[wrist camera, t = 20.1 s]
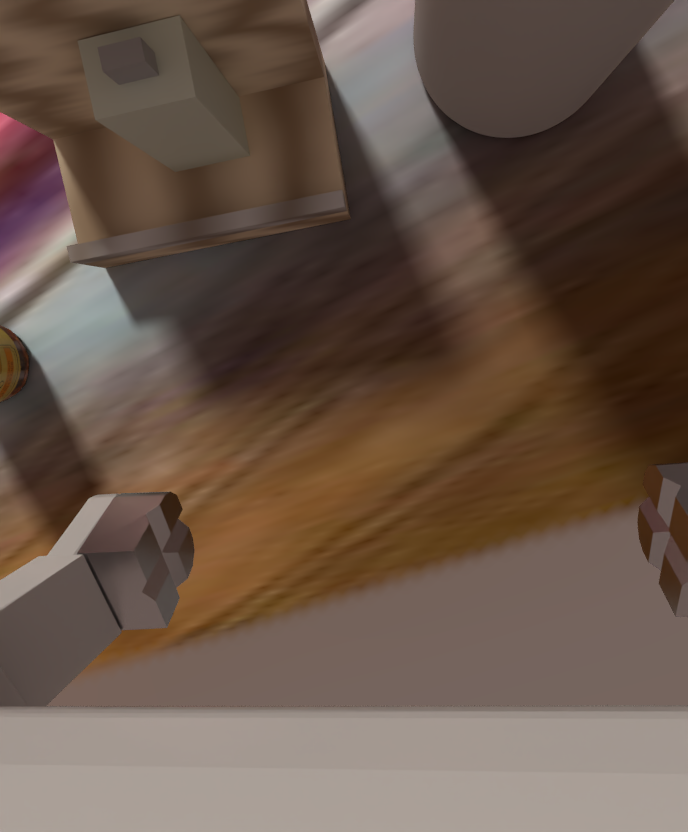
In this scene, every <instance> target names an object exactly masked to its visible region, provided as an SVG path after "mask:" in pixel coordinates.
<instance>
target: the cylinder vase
mask: <svg viewBox="0 0 688 832" xmlns="http://www.w3.org/2000/svg"><path fill="white" fill-rule="evenodd" d="M673 2H674V0H415V12H414V32H413V40H414V52H415V58H416V63H417V67H418V70H419V73H420V76H421V79H422V81H423V84H424V86H425V88H426V89H427V91H428V93H429V95H430V96H431V98H432V99H433V101H434V102H435V103H436V104H437V106H438V107H439V108H440V109H441V110H442V111H443V112H444V113H445V114H446V115H447V116H448V117H449V118H451V119H452V120H453V121H455V122H456V123H458V124H459V125H461V126H463V127H464V128H466V129H469V130H471V131H473V132H476V133H479V134H482V135H486V136H491V137H498V138H515V137H523V136H528V135H532V134H536V133H539V132H542V131H544V130H547V129H549V128H551V127H553V126H555V125H557V124H559V123H560V122H562V121H564V120H565V119H567V118H568V117H569V116H571V115H572V114H573V113H575V112H576V111H577V110H578V109H579V108H580V107H581V106H582V105H583V104H584V103H585V102H586V101H587V100H588V99H589V98H590V97H591V96H592V95H593V93H594V92H595V91H596V90H597V89H598V88H599V87H600V85H601V84H602V83H603V82H604V81H605V80H606V78H607V77H608V76H609V75H610V74H611V73H612V72H613V70H614V69H615V68H616V67H617V66H618V65H619V64H620V62H621V61H622V60H623V59H624V58H625V57H626V55H627V54H628V53H629V52H630V51H631V50H632V49H633V47H634V46H635V45H636V44H637V43H638V42H639V41H640V39H641V38H642V37H643V36H644V35H645V34H646V33H647V31H648V30H649V29H650V28H651V27H652V26H653V24H654V23H655V22H656V21H657V20H658V19H659V18H660V16H661V15H662V14H663V13H664V12H665V11H666V10H667V8H668V7H669V6H670V5H671V4H672V3H673Z"/></svg>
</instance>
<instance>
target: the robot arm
mask: <svg viewBox="0 0 688 832" xmlns="http://www.w3.org/2000/svg"><path fill="white" fill-rule="evenodd" d="M643 486H644V488H645V490H646V492H647V494H648V495H649V497H648V498H647V499H646V500H645V501H644V502H643V503H642V504H641V505H640V506H639V513H638V532H639V540H640V543H641V546H642V550H643V552H644V554H645V556H646V558H647V560H648V562H649V563H650V564H652V565H653V566H655V567H656V568H658V569H659V570H661V574H660V579H659V585H660V587H661V589H662V591H663V593H664V595H665V597H666V599H667V601H668V602H669V605H670V607H671V609H672V611H673V613H674V615H675V616H676V617H688V462H684V463H668V464H652V465H648V467H647V469H646V471H645V474H644V480H643ZM181 511H182V507H181V504H180V502H179V499H178V497H177V495H176V494H174V493H172V492H149V493H122V494H103V495H95V496H93V497H91V498H89V499H88V500H87V502H86V503H85V505H84V506H83V507H82V509H81V510H80V511H79V513H78V514H77V515H76V517H75V518H74V520H73V521H72V522H71V524H70V525H69V526H68V528H67V529H66V530H65V532H64V533H63V535H62V536H61V537H60V539H59V540H58V541H57V543H56V544H55V546H54V547H53V548H52V550H51V551H50V552H49V554H48V555H47V556H39V557H37V558H35V559H34V560H32V561H31V562H29V563H27V564H26V565H24V566H22V567H21V568H19V569H18V570H16V571H14V572H13V573H11V574H10V575H8V576H6V577H5V578H3V579H2V580H0V832H688V706H47V705H48V704H49V703H50V702H51V701H52V700H53V699H54V698H55V697H56V696H57V695H58V694H59V693H60V692H61V691H62V690H63V689H64V688H65V687H66V686H67V685H68V684H69V683H70V682H71V681H72V680H73V679H74V678H75V677H76V676H77V675H78V674H80V673H81V672H82V671H83V670H84V669H85V668H86V667H87V666H88V665H89V664H90V663H91V662H92V661H93V660H94V659H95V658H96V657H97V656H98V655H99V654H100V653H101V652H102V651H103V650H104V649H105V648H106V647H107V646H108V645H109V644H110V643H111V642H112V641H113V640H115V639H116V638H117V637H118V636H119V635H120V634H121V630H134V629H154V628H167V626H168V624H169V622H170V619H171V617H172V615H173V612H174V610H175V608H176V605H177V603H178V600H179V598H180V597H179V595H178V592H177V589H176V588H177V587H178V586H179V585H180V584H181V583H183V582H184V581H185V580H186V579H188V576H189V574H190V571H191V569H192V566H193V558H194V544H193V537H192V534H191V532H190V529H189V527H188V526H186V525H185V524H184V523H183V522H181V521H180V520H179V519H178V518H179V516H180V513H181Z"/></svg>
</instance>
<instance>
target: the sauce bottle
mask: <svg viewBox="0 0 688 832" xmlns="http://www.w3.org/2000/svg"><path fill="white" fill-rule="evenodd" d="M28 364H29V356H28V353H27V351H26V349H25V347H24V346H23V345H22V343H21V341H20V340H19V339H18V337H17V336H16V335H15V334H14V333H13V332H12V331H11V330H9V329H7V328H5V327H2V326H1V325H0V402H2V401H5V400H7V399H9V398H10V397H12V396H14V395H15V394H17V393H18V392H19V391H20V390H21V388H22V387H23V386H24V385H25V382H26V380H27V376H28V371H29V370H28V369H29V366H28Z"/></svg>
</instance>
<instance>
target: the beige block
mask: <svg viewBox="0 0 688 832" xmlns="http://www.w3.org/2000/svg"><path fill="white" fill-rule="evenodd" d="M78 46H79V50H80V54H81V59H82V63H83V68H84V72H85V77H86V81H87V86H88V90H89V94H90V99H91V103H92V108H93V112H94V117H95V120H96V121H97V122H99V123H101V124H102V125H104V126H105V127H107V128H108V129H110V130H111V131H113V132H114V133H116V134H117V135H119V136H121V137H122V138H124V139H125V140H127V141H128V142H130V143H131V144H133V145H134V146H136V147H138V148H139V149H141V150H142V151H144V152H145V153H147V154H148V155H150V156H151V157H153V158H154V159H156V160H158V161H159V162H161V163H162V164H164V165H165V166H167V167H168V168H170V169H171V170H173V171H174V172H178V171H182V170H187V169H192V168H196V167H201V166H206V165H210V164H215V163H219V162H224V161H229V160H233V159H238V158H242V157H247V156H250V152H249V147H248V142H247V136H246V131H245V126H244V120H243V115H242V110H241V104H240V99H239V96H238V95H237V94H236V92H235V91H234V90H233V88H232V87H231V85H230V84H229V83H228V81H227V80H226V79H225V77H224V76H223V74H222V73H221V72H220V70H219V69H218V68H217V66H216V65H215V63H214V62H213V61H212V59H211V58H210V57H209V55H208V54H207V52H206V51H205V50H204V48H203V47H202V45H201V44H200V43H199V41H198V40H197V39H196V37H195V36H194V34H193V33H192V32H191V30H190V29H189V28H188V26H187V25H186V23H185V22H184V21H183V19H182V18H181V17H180V15H179V16H175V17H171V18H167V19H163V20H159V21H155V22H151V23H147V24H143V25H139V26H135V27H131V28H127V29H123V30H119V31H115V32H111V33H107V34H103V35H99V36H95V37H91V38H87V39H83V40H79V41H78Z"/></svg>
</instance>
